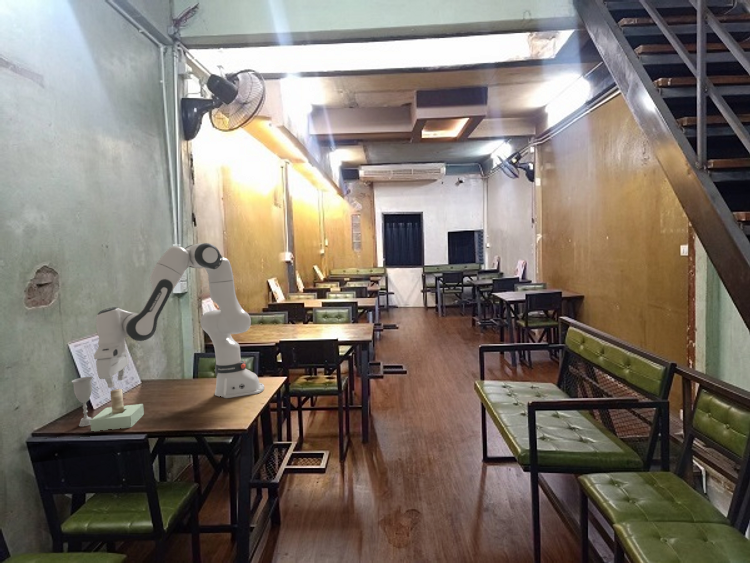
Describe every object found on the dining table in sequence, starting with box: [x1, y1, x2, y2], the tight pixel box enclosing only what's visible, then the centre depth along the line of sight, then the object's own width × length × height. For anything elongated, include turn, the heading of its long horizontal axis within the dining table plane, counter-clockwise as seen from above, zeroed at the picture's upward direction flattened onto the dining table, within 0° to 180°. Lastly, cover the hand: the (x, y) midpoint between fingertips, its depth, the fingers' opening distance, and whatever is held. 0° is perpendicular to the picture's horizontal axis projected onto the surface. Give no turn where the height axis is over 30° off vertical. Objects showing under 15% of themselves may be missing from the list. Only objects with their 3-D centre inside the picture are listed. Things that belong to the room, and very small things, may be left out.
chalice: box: [71, 376, 93, 427], centre depth 171 cm, size 7×7×18 cm
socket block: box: [90, 403, 145, 432], centre depth 170 cm, size 14×14×4 cm
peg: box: [109, 388, 125, 414], centre depth 170 cm, size 4×4×13 cm
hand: (116, 383), depth 170 cm, fingers open, 8 cm apart
